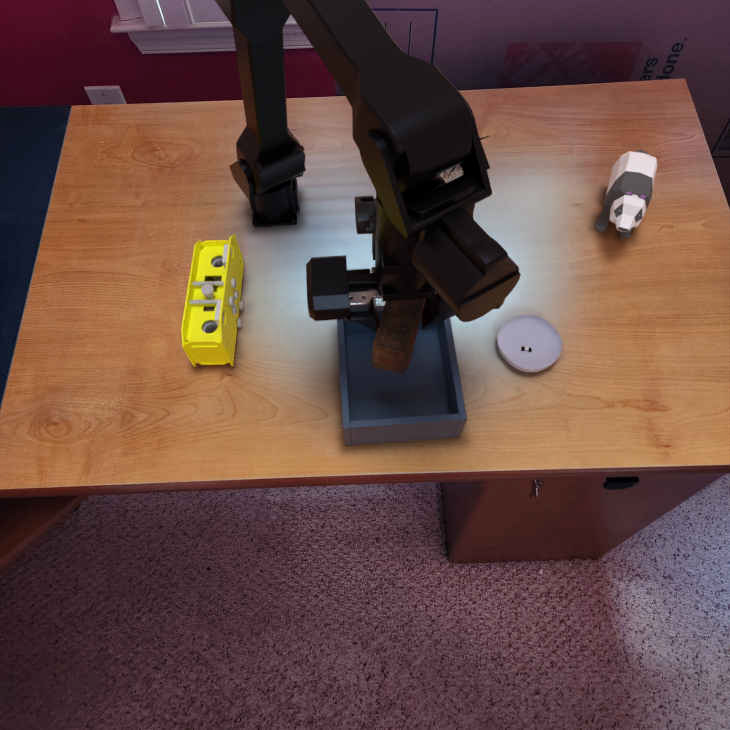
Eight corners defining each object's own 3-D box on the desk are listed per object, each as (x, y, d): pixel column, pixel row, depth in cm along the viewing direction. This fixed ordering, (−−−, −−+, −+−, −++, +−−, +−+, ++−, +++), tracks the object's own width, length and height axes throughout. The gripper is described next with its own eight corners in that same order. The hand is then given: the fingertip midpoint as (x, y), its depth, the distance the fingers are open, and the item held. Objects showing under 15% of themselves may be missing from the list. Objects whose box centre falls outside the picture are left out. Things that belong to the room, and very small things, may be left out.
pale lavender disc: (557, 381, 71) (561, 374, 70) (492, 371, 72) (495, 364, 71) (558, 326, 75) (563, 319, 73) (497, 318, 76) (499, 310, 74)
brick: (407, 376, 61) (410, 355, 57) (371, 368, 62) (371, 346, 58) (427, 296, 66) (431, 271, 62) (393, 289, 67) (395, 264, 62)
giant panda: (603, 184, 87) (628, 131, 78) (641, 193, 86) (670, 141, 77) (585, 256, 80) (610, 207, 72) (625, 267, 80) (655, 219, 71)
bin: (344, 445, 68) (343, 428, 63) (338, 332, 75) (335, 308, 70) (460, 437, 68) (467, 419, 63) (442, 325, 75) (447, 301, 70)
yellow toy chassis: (238, 369, 73) (223, 334, 65) (193, 369, 73) (173, 335, 65) (248, 266, 80) (236, 225, 73) (207, 267, 80) (191, 226, 73)
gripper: (500, 157, 53) (473, 263, 67) (297, 169, 53) (312, 273, 66) (525, 253, 48) (490, 346, 62) (300, 267, 47) (315, 358, 61)
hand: (400, 327), depth 63 cm, fingers closed on brick, 5 cm apart
